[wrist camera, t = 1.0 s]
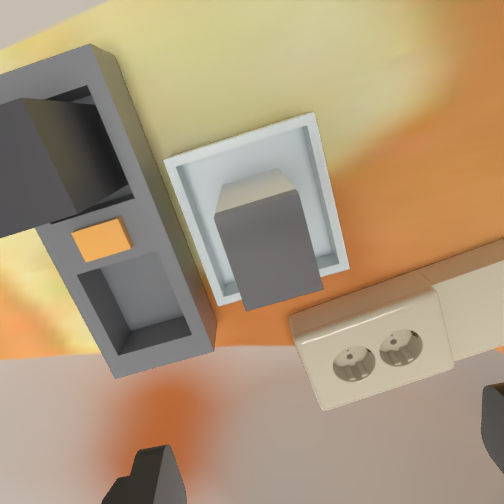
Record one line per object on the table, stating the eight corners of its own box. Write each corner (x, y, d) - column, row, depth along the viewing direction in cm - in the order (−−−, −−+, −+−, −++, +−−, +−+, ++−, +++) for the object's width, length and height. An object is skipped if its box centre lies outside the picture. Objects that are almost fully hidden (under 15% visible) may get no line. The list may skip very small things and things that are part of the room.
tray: (306, 112, 24) (314, 112, 22) (339, 254, 28) (349, 268, 25) (170, 156, 25) (162, 160, 22) (220, 289, 29) (218, 306, 26)
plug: (278, 167, 25) (298, 192, 16) (296, 234, 26) (323, 289, 18) (222, 185, 25) (213, 218, 17) (243, 250, 27) (245, 311, 18)
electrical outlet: (555, 338, 27) (323, 414, 29) (515, 311, 31) (313, 379, 32) (545, 253, 24) (293, 342, 26) (504, 235, 28) (286, 313, 30)
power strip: (5, 93, 23) (-147, 76, 14) (114, 56, 23) (30, 13, 14) (130, 346, 30) (83, 446, 21) (217, 321, 30) (207, 413, 20)
